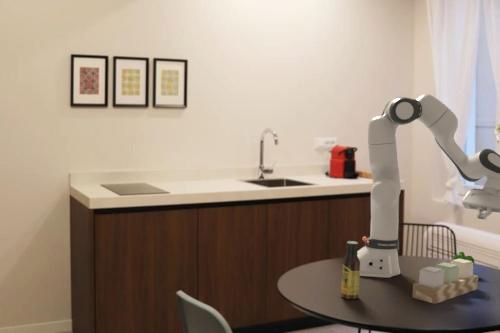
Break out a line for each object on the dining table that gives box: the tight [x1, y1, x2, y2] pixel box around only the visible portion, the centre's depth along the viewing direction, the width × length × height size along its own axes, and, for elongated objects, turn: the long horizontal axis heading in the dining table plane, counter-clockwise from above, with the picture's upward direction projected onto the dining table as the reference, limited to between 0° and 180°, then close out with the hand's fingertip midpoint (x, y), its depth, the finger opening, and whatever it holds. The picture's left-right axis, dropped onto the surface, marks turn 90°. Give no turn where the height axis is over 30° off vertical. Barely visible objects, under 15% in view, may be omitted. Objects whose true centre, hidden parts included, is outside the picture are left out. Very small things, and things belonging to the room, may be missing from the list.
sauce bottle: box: [340, 240, 361, 300], centre depth 216 cm, size 7×6×20 cm
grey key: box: [418, 266, 444, 288], centre depth 217 cm, size 6×6×7 cm
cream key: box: [449, 259, 474, 279], centre depth 230 cm, size 6×6×7 cm
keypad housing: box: [412, 274, 479, 305], centre depth 224 cm, size 29×9×5 cm, turn 131°
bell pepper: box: [452, 251, 475, 269], centre depth 249 cm, size 8×8×10 cm
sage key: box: [434, 262, 459, 283], centre depth 223 cm, size 6×6×7 cm
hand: (480, 218), depth 236 cm, fingers closed
